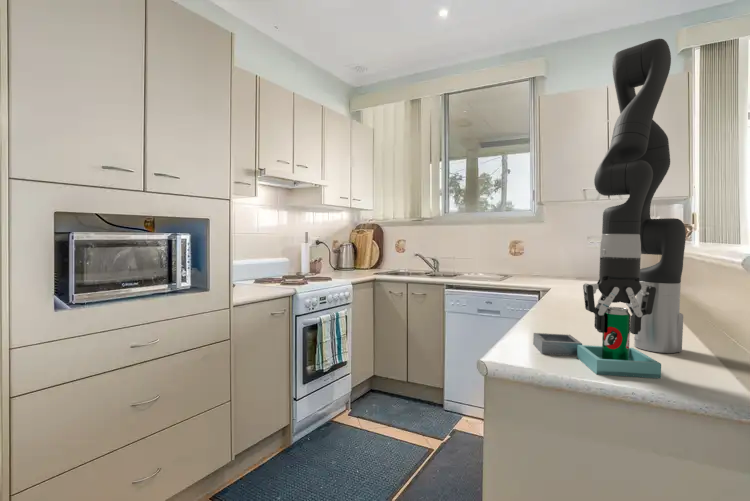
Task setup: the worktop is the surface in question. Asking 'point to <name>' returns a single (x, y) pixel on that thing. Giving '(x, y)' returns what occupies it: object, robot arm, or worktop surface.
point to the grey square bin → (556, 344)
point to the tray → (619, 363)
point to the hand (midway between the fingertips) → (616, 332)
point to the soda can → (616, 334)
